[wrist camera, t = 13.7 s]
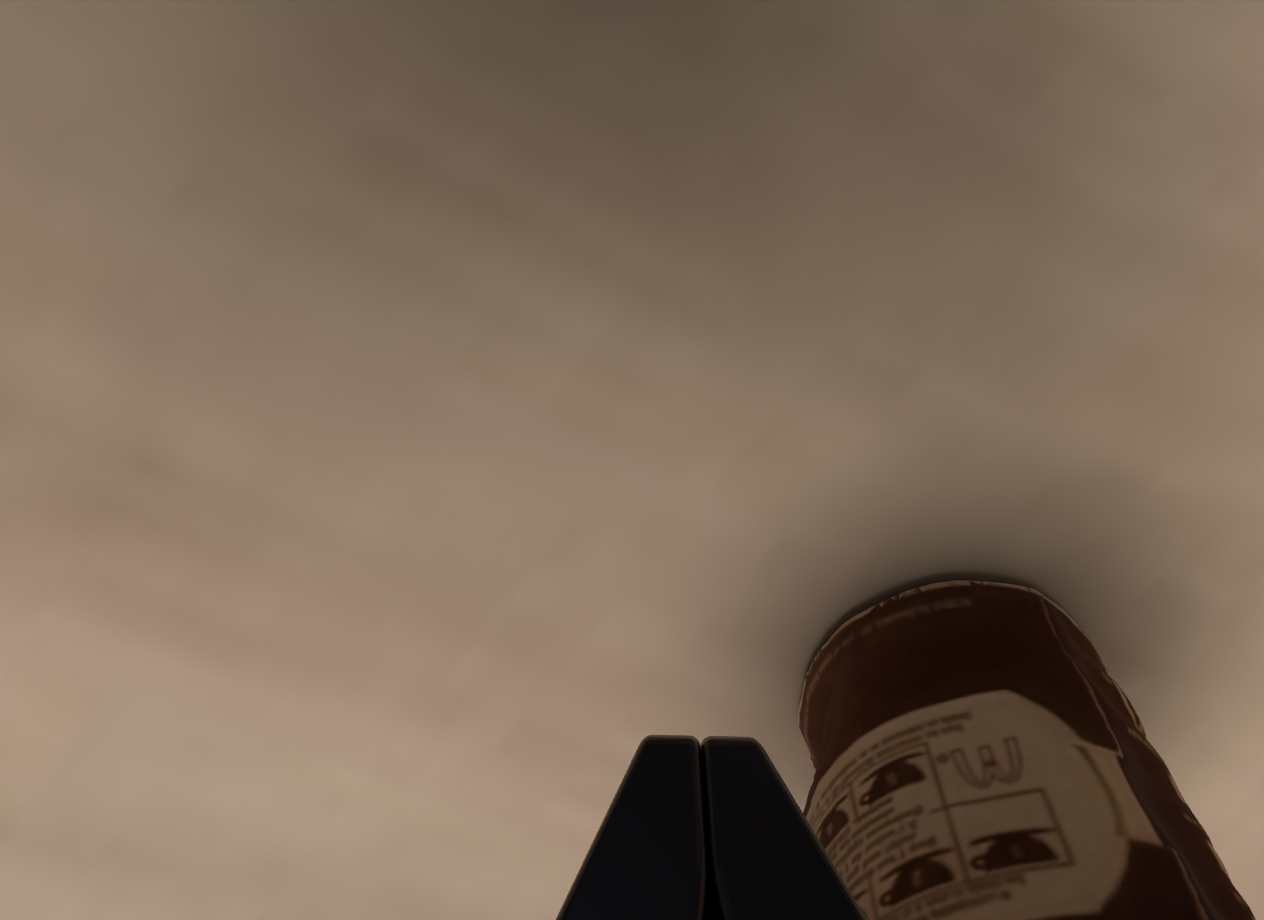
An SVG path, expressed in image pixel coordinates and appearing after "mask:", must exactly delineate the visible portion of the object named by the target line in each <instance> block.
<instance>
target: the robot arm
mask: <svg viewBox="0 0 1264 920" xmlns="http://www.w3.org/2000/svg"><path fill="white" fill-rule="evenodd" d="M556 920H867V919H866V917H865V916H864V914H863V912H862V911H861V909H860V907H859V906H858V904H857V902H856V901H855V899H854V897H853V896H852V894H851V892H850V891H849V889H848V887H847V886H846V884H845V882H844V881H843V879H842V877H841V876H840V874H839V873H838V871H837V869H836V868H835V866H834V864H833V863H832V861H831V859H830V858H829V856H828V854H827V853H826V851H825V849H824V848H823V846H822V844H821V843H820V841H819V839H818V838H817V836H816V834H815V833H814V831H813V829H812V828H811V826H810V824H809V823H808V821H807V819H806V818H805V816H804V814H803V813H802V811H801V809H800V808H799V806H798V805H797V803H796V801H795V800H794V798H793V796H792V795H791V793H790V791H789V790H788V788H787V786H786V785H785V783H784V781H783V780H782V778H781V776H780V775H779V773H778V771H777V770H776V768H775V766H774V765H773V763H772V761H771V760H770V758H769V756H768V755H767V753H766V751H765V750H764V748H763V747H762V745H761V744H760V743H759V742H758V741H757V740H755V739H754V738H751V737H731V736H709V737H707V738H705V739H704V740H703V741H702V743H701V746H700V743H699V742H698V740H697V739H696V738H695V737H693V736H683V735H649V736H647V737H645V738H644V739H643V740H642V742H641V743H640V745H639V747H638V749H637V751H636V753H635V755H634V757H633V759H632V761H631V763H630V765H629V768H628V770H627V772H626V774H625V776H624V778H623V780H622V782H621V784H620V786H619V788H618V791H617V793H616V795H615V797H614V799H613V801H612V803H611V805H610V807H609V809H608V811H607V814H606V816H605V818H604V820H603V822H602V824H601V826H600V828H599V830H598V832H597V834H596V837H595V839H594V841H593V843H592V845H591V847H590V849H589V851H588V853H587V855H586V858H585V860H584V862H583V864H582V866H581V868H580V870H579V872H578V874H577V876H576V878H575V881H574V883H573V885H572V887H571V889H570V891H569V893H568V895H567V897H566V899H565V901H564V904H563V906H562V908H561V910H560V912H559V914H558V916H557V918H556Z"/></svg>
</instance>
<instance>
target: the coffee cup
mask: <svg viewBox="0 0 1264 920" xmlns="http://www.w3.org/2000/svg"><path fill="white" fill-rule="evenodd" d="M798 724H799V727H800V729H801V732H802V734H803V736H804V739H805V741H806V743H807V746H808V748H809V758H810V759H811V760H812V762H813V765H814V767H815V768H816V773H815V775H814V782H813V784H812V786H811V788H810V791H809V794H808V798H807V802H806V806H805V809H804V812H803V814H804V816H805V818H806V819H807V821H808V823H809V824H810V826H811V828H812V829H813V831H814V833H815V834H816V836H817V838H818V839H819V841H820V843H821V844H822V846H823V848H824V849H825V851H826V853H827V854H828V856H829V858H830V859H831V861H832V863H833V864H834V866H835V868H836V869H837V871H838V873H839V874H840V876H841V877H842V879H843V881H844V882H845V884H846V886H847V887H848V889H849V891H850V892H851V894H852V896H853V897H854V899H855V901H856V902H857V904H858V906H859V907H860V909H861V911H862V912H863V914H864V916H865V917H866V919H867V920H1255V917H1254V915H1253V913H1252V911H1251V909H1250V907H1249V906H1248V905H1247V903H1246V902H1245V900H1244V899H1243V898H1242V896H1241V895H1240V894H1239V893H1238V891H1237V890H1236V889H1235V887H1234V886H1233V884H1232V883H1231V880H1230V878H1229V876H1228V873H1227V871H1226V869H1225V867H1224V865H1223V863H1222V861H1221V859H1220V858H1219V856H1218V854H1217V853H1216V851H1215V850H1214V848H1213V846H1212V843H1211V841H1210V838H1209V837H1208V835H1207V833H1206V832H1205V830H1204V829H1203V827H1202V826H1201V824H1200V823H1199V822H1198V820H1197V819H1196V817H1195V816H1194V814H1193V813H1192V811H1191V810H1190V808H1189V806H1188V805H1187V804H1186V802H1185V800H1184V798H1183V797H1182V795H1181V793H1180V791H1179V789H1178V787H1177V785H1176V783H1175V781H1174V779H1173V777H1172V775H1171V774H1170V772H1169V770H1168V768H1167V766H1166V764H1165V763H1164V761H1163V760H1162V758H1161V757H1160V756H1159V754H1158V753H1157V752H1156V750H1155V749H1154V748H1153V746H1152V745H1151V744H1150V743H1149V742H1148V740H1147V739H1146V734H1145V731H1144V728H1143V724H1142V723H1141V721H1140V719H1139V717H1138V716H1137V714H1136V712H1135V710H1134V708H1133V707H1132V705H1131V703H1130V702H1129V700H1128V698H1127V697H1126V695H1125V694H1124V692H1123V691H1122V690H1121V688H1120V687H1119V686H1118V684H1117V683H1116V682H1115V681H1114V680H1113V679H1112V678H1110V677H1109V676H1108V675H1107V672H1106V669H1105V667H1104V665H1103V663H1102V661H1101V659H1100V657H1099V655H1098V654H1097V652H1096V651H1095V649H1094V647H1093V646H1092V644H1091V643H1090V641H1089V640H1088V638H1087V637H1086V636H1085V634H1084V633H1083V632H1082V630H1081V629H1080V628H1079V626H1078V625H1077V623H1076V622H1075V621H1074V620H1073V619H1072V618H1071V617H1070V616H1069V615H1068V614H1067V613H1066V611H1065V610H1064V609H1063V608H1062V607H1060V606H1059V605H1057V604H1056V603H1054V602H1053V601H1051V600H1050V599H1048V598H1047V597H1045V596H1044V595H1043V594H1042V593H1040V592H1039V591H1037V590H1035V589H1032V588H1029V587H1025V586H1021V585H1014V584H1006V583H998V582H985V581H972V580H956V581H946V582H939V583H933V584H929V585H925V586H921V587H918V588H914V589H911V590H908V591H905V592H903V593H900V594H898V595H896V596H893V597H891V598H889V599H887V600H885V601H883V602H881V603H879V604H877V605H875V606H872V607H871V608H869V609H867V610H865V611H863V612H861V613H859V614H857V615H856V616H854V617H852V618H851V619H849V620H848V621H846V622H845V623H844V624H843V625H842V626H841V627H840V628H839V629H838V630H837V631H836V632H835V633H834V634H833V635H832V636H831V637H830V638H829V640H828V641H827V642H826V643H825V644H824V646H823V647H822V648H821V649H820V650H819V652H818V654H817V655H816V657H815V658H814V660H813V662H812V664H811V666H810V668H809V670H808V672H807V674H806V676H805V679H804V685H803V690H802V697H801V701H800V705H799V710H798Z"/></svg>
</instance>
